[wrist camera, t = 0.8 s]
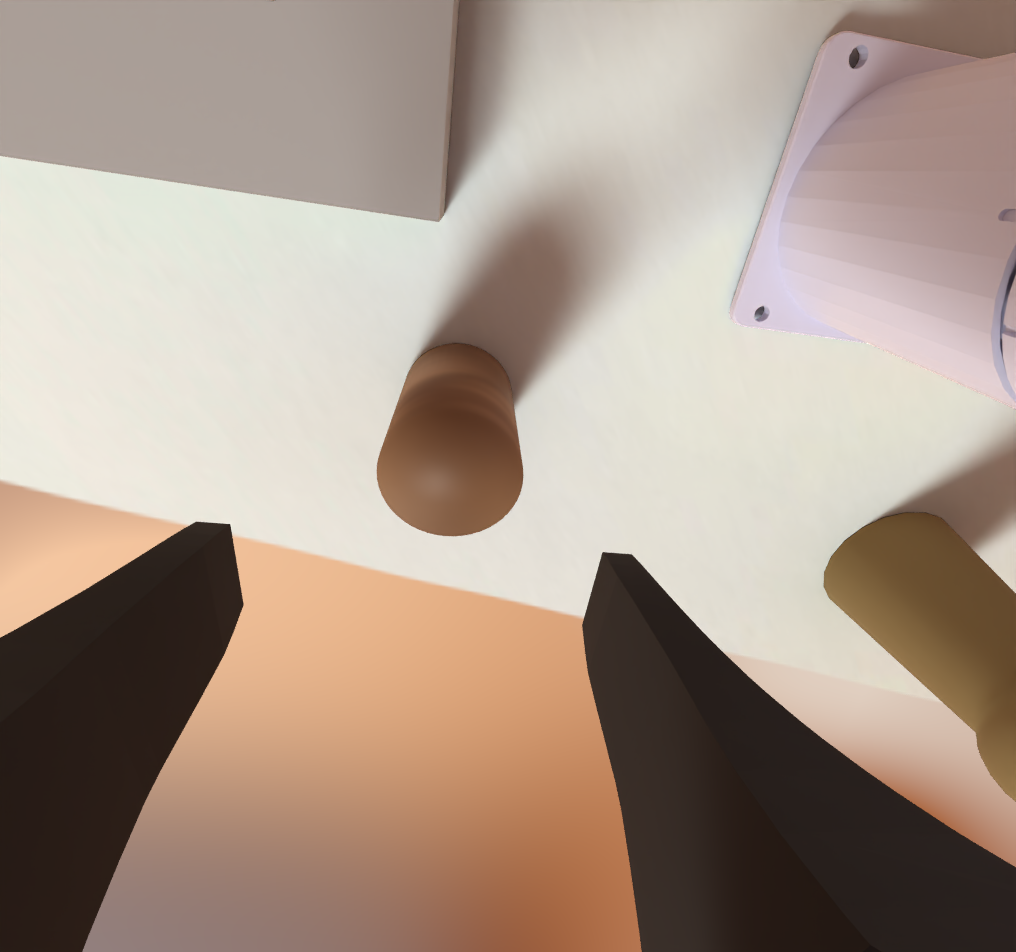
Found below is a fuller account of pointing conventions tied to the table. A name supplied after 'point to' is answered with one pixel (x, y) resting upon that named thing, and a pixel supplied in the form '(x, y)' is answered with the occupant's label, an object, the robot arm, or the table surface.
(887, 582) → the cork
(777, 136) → the table surface
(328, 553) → the table surface
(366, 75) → the socket block
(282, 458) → the table surface
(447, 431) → the wooden peg
